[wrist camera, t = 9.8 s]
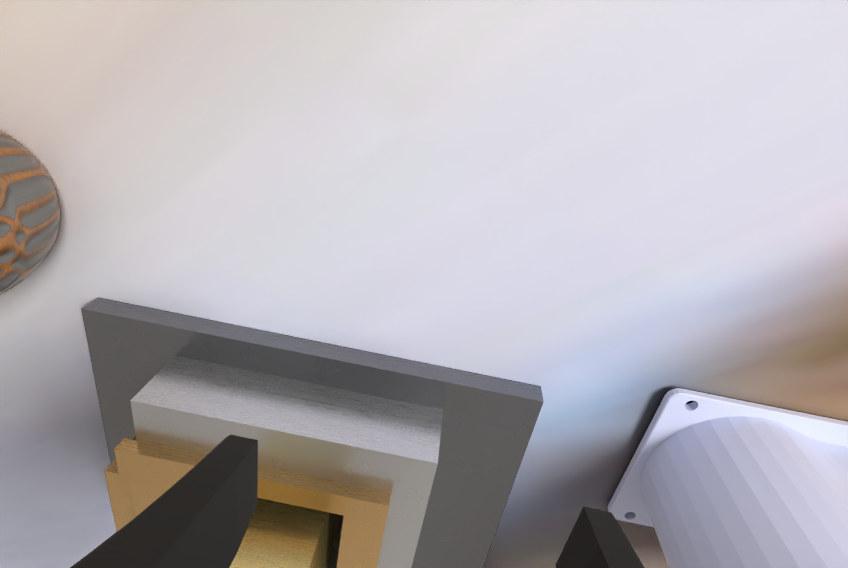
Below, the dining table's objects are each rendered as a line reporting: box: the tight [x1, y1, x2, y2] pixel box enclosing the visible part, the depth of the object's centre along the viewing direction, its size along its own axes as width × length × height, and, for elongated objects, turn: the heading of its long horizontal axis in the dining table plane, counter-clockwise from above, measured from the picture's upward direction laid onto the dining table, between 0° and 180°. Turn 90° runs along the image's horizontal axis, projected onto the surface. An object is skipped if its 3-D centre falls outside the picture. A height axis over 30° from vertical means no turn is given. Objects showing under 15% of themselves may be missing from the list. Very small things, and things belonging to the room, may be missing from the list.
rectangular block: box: [229, 498, 341, 568], centre depth 20 cm, size 4×4×8 cm
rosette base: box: [81, 298, 543, 568], centre depth 22 cm, size 20×15×5 cm
